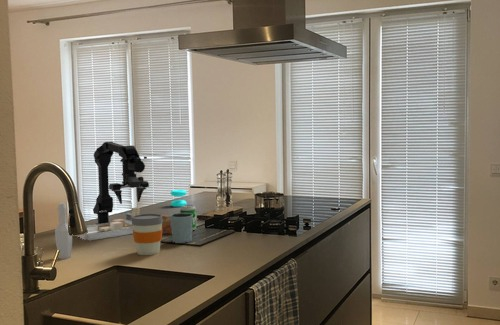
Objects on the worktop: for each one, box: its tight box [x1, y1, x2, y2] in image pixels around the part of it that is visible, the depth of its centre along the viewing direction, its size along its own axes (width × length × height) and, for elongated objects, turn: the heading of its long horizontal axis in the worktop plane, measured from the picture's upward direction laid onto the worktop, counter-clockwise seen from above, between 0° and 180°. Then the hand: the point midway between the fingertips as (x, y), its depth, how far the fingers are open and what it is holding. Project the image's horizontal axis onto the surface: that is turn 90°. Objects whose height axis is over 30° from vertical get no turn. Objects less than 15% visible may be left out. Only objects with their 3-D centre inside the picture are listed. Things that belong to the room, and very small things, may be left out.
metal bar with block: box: [125, 207, 141, 221], centre depth 270 cm, size 20×3×7 cm, turn 38°
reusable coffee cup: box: [132, 213, 163, 256], centre depth 219 cm, size 13×13×15 cm
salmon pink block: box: [112, 218, 126, 226], centre depth 268 cm, size 4×4×3 cm
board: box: [99, 223, 133, 231], centre depth 265 cm, size 13×15×2 cm
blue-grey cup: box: [169, 212, 193, 244], centre depth 239 cm, size 10×10×12 cm
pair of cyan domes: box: [170, 189, 188, 208], centre depth 340 cm, size 10×10×10 cm
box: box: [77, 226, 101, 241], centre depth 256 cm, size 15×12×4 cm
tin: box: [161, 214, 172, 235], centre depth 259 cm, size 15×3×8 cm, turn 62°
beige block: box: [110, 221, 123, 230], centre depth 260 cm, size 4×4×3 cm
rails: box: [86, 219, 133, 242], centre depth 262 cm, size 21×31×3 cm
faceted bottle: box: [54, 202, 73, 260], centre depth 214 cm, size 6×6×22 cm
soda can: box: [179, 204, 197, 232], centre depth 263 cm, size 8×8×12 cm
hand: (129, 202), depth 262 cm, fingers open, 9 cm apart
